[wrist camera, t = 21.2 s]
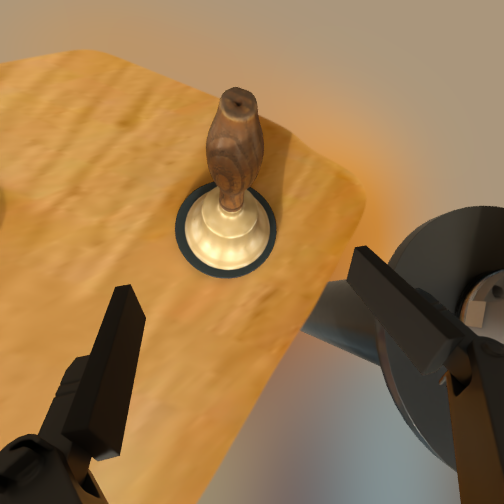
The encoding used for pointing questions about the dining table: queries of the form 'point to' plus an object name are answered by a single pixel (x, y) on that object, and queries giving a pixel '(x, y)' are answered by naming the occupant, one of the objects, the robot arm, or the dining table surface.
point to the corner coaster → (201, 265)
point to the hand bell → (231, 188)
